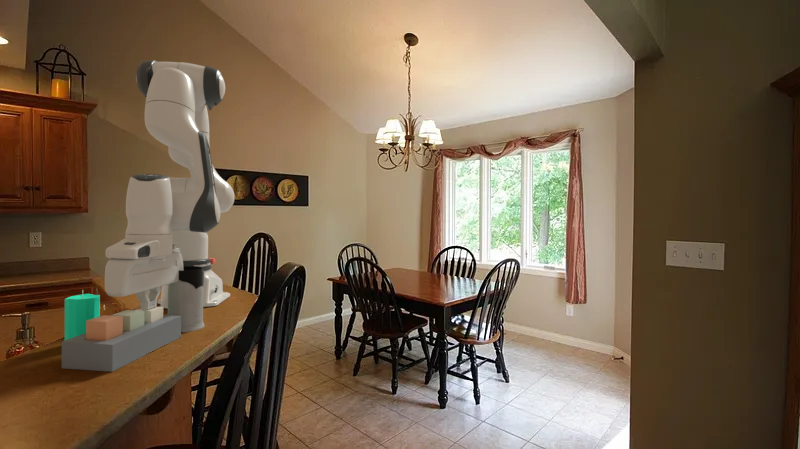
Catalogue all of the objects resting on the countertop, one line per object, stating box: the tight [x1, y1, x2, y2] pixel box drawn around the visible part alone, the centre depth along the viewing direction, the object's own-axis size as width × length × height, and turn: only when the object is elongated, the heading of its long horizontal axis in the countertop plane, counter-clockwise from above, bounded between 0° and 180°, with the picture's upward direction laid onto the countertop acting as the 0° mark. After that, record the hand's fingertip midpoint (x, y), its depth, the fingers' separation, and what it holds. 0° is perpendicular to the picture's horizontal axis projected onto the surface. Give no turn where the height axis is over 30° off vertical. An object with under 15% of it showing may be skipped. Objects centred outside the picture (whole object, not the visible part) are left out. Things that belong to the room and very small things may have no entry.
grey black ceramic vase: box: [167, 266, 205, 333], centre depth 103 cm, size 9×14×15 cm, turn 3°
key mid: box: [111, 309, 145, 331], centre depth 83 cm, size 4×4×6 cm
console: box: [61, 314, 182, 373], centre depth 83 cm, size 20×10×5 cm, turn 176°
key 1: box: [86, 314, 123, 341], centre depth 77 cm, size 4×4×6 cm
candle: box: [64, 289, 101, 341], centre depth 86 cm, size 6×6×12 cm
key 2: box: [135, 306, 164, 323], centre depth 89 cm, size 4×4×6 cm
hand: (148, 308), depth 89 cm, fingers closed, pressing on key 2
